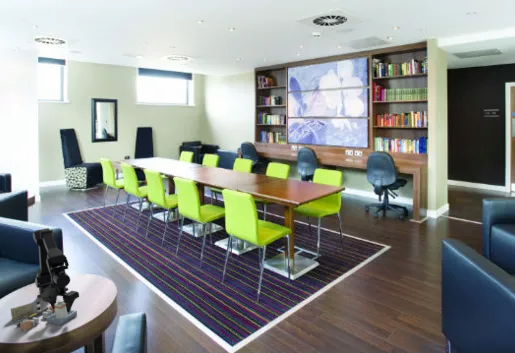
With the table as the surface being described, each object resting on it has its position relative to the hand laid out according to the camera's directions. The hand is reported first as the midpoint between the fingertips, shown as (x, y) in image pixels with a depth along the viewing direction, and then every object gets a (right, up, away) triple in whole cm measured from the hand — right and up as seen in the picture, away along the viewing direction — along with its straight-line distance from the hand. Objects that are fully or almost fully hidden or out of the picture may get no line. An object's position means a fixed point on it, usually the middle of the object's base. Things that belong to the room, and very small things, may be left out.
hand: (61, 310), depth 175 cm
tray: (0, -4, +1) cm, 4 cm away
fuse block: (-11, -4, 0) cm, 12 cm away
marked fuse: (0, -4, +1) cm, 4 cm away
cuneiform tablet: (-19, -5, +3) cm, 20 cm away
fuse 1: (-12, -6, -7) cm, 15 cm away
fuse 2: (-7, -3, +6) cm, 10 cm away
